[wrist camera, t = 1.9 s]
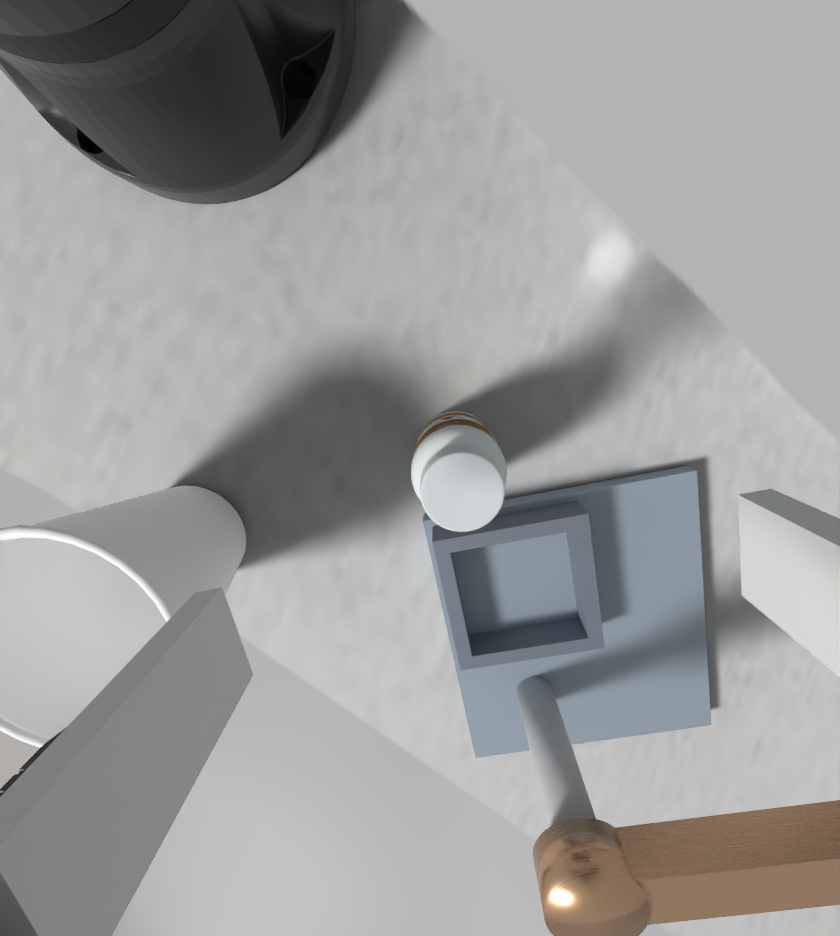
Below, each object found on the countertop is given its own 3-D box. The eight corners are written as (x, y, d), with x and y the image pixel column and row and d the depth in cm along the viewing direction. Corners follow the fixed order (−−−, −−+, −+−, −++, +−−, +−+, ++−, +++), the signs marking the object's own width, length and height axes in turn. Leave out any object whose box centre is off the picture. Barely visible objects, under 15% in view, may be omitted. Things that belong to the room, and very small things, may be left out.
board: (423, 514, 27) (417, 611, 18) (687, 465, 26) (835, 541, 16) (474, 744, 32) (491, 923, 22) (702, 712, 30) (826, 887, 21)
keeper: (539, 892, 21) (551, 955, 19) (526, 824, 20) (537, 883, 18) (875, 853, 19) (929, 917, 17) (879, 780, 18) (938, 837, 16)
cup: (197, 417, 26) (36, 471, 16) (314, 547, 28) (240, 674, 17) (81, 517, 28) (-133, 626, 17) (198, 632, 30) (68, 794, 19)
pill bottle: (481, 399, 25) (501, 425, 18) (502, 473, 26) (528, 527, 19) (405, 423, 26) (393, 457, 18) (428, 495, 27) (425, 555, 19)
